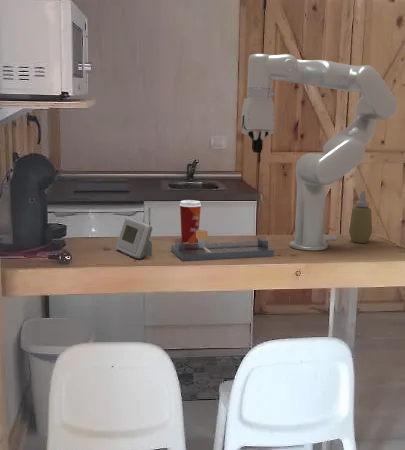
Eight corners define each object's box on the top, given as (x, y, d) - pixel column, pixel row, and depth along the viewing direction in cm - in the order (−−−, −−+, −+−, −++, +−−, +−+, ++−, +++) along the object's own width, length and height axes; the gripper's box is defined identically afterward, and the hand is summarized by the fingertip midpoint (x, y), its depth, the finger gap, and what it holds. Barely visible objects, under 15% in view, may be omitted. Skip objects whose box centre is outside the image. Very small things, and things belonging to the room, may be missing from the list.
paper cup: (198, 244, 225) (199, 203, 222) (176, 242, 226) (176, 202, 223) (202, 239, 232) (203, 200, 229) (181, 238, 234) (182, 199, 231)
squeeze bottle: (373, 244, 230) (377, 193, 227) (350, 243, 230) (353, 192, 227) (368, 239, 238) (371, 190, 235) (346, 239, 238) (349, 189, 235)
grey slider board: (257, 246, 223) (257, 235, 222) (273, 256, 210) (274, 243, 209) (171, 250, 214) (171, 238, 213) (182, 261, 201) (183, 248, 200)
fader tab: (204, 246, 211) (205, 229, 210) (207, 247, 209) (207, 231, 208) (195, 246, 210) (196, 230, 209) (198, 248, 208) (198, 231, 207)
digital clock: (114, 249, 215) (114, 217, 213) (141, 247, 218) (141, 216, 216) (127, 261, 200) (127, 226, 198) (156, 259, 203) (156, 225, 201)
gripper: (276, 94, 214) (273, 151, 218) (232, 93, 210) (231, 151, 213) (285, 94, 207) (283, 153, 211) (241, 93, 203) (239, 153, 206)
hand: (257, 152), depth 212 cm, fingers closed
